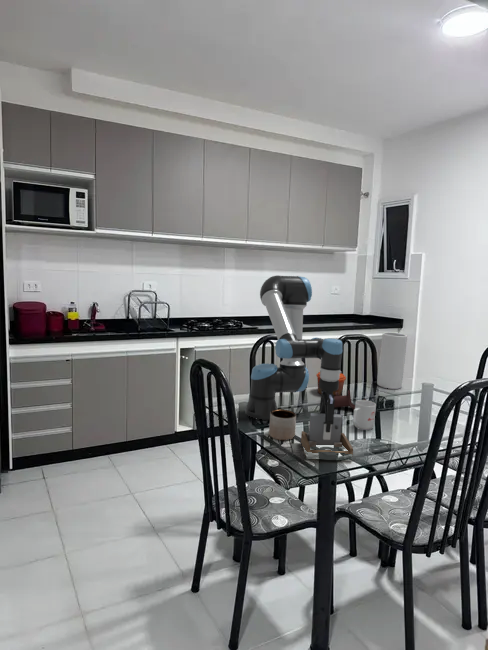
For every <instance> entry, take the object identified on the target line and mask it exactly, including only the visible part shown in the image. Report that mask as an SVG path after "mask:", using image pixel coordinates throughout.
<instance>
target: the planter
mask: <svg viewBox="0 0 488 650" xmlns="http://www.w3.org/2000/svg"><path fill="white" fill-rule="evenodd" d="M277 409H278V408H277ZM296 421H297V414H296V413H295V412H294V411H292V410H288V409H281V408H279V409H278V410H273V411H271V413H270V419H269V426H268V435H269V437H271V438H272V439H275V440H278V441H289V440H288V439H290V440H292V439H294V438H295V437H294V436H296V425H297V424H296V423H297V422H296ZM293 437H294V438H293Z"/></svg>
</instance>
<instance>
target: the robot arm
mask: <svg viewBox="0 0 488 650" xmlns="http://www.w3.org/2000/svg"><path fill="white" fill-rule="evenodd" d="M312 287H313V286H312V284H311V281H310V280H309V279H308V278H307V277H305V276H299V275H296V276H294V275H293V276H292V275H272V276H270V277H269V278H267V279H266V280H265V281H264V282H263V283H262V285H261V287H260V291H259V298H260V300H261V303H262V305H263V306H264V307H265V308H266V311H267V313H268V316H269V319H270V321H271V324H272V327H273V329H274V333H275V335H276V338H277V340H276V342H275V346H274V347H275V348H274V350H275V355H276V356H277V357H278V358H279V359H282V360H281V361H280V362H279V367H278V366H277V364H275V363H261V364H256V365H255V366H254V367H253V368H252V369H251V375H250V390H249V391H250V392H249V394H250V396H249V399H248V401H247V404H246V407H245V411H244V412H245V413H246V414H247V415H248V416H247V415H246V414H245V415H246V416H247V417H249V416H250V417H249V418H251V417H253V418H252V419H254V418H257V419H256V420H259V419H262V420H263V421H267V420H268V421H270V413H271V411H273V410H278V405H277V402H276V401H277V400H276V393H279V394H280V393H299V392H303V391H305V390H306V389H307V386H308V385H309V380H310V373H309V369H308V368H307V366H305V363H304V362H303V361H302V360H303V359H319V360H321V361H320V370H319V372H320V380H319V388H320V389H321V390H322V391H321V394H320V401H319V409H318V411H319V414H325V422H323V424H324V431H323V440H330V437H331V426H332V424H333V423H334V422H333V420H334V414H335V408H334V404H335V399H334V395H333V392H334V391H337V390H338V389H339V377H340V373H341V374H342V371H341V365H342V358H343V357H342V356H343V341H342V340H341V339H338V338H329V337H328V338H324V339H323V338H321V337H313V338H310V339H305V338H304V339H303V326H304V323H303V322H304V309H305V308H306V307H307V303H308V302H311V299H312V297H313V288H312ZM262 420H261V421H262Z"/></svg>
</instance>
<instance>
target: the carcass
mask: <svg viewBox="0 0 488 650" xmlns="http://www.w3.org/2000/svg"><path fill="white" fill-rule="evenodd" d="M300 434H301V437H300V444H301V443H302V445H301V447H302V446H303V447H304V448H305V450H306V451H307V452H312V453H318V452H335V453H345V454H352V455H354V448H353V446H352V444H351V443H350V441H349V439H348V438H347V436H346V434H345V433H344V432H341V436H340V443H337V442H334V446H335V447H342V445H343V446H344V447H345V448H346V449H347V450H348V451H331V450H310V447H316V442H315V441H308V434H309V432H308V433H307V432H305V431H304V430H302V431H301V433H300Z"/></svg>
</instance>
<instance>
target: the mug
mask: <svg viewBox="0 0 488 650" xmlns="http://www.w3.org/2000/svg"><path fill="white" fill-rule="evenodd" d="M354 405H355V409H354V410H353V418H352V420H353V426H355V428H357V429H359V430H361V431H370V430H372V429H373V428H374V426H375V419H376V418H375V416H376V408H377V404H376V403H375V402H373V401H370V400H367V399H366V400H363V399H360V400H359V399H357V400H355V403H354Z"/></svg>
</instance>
